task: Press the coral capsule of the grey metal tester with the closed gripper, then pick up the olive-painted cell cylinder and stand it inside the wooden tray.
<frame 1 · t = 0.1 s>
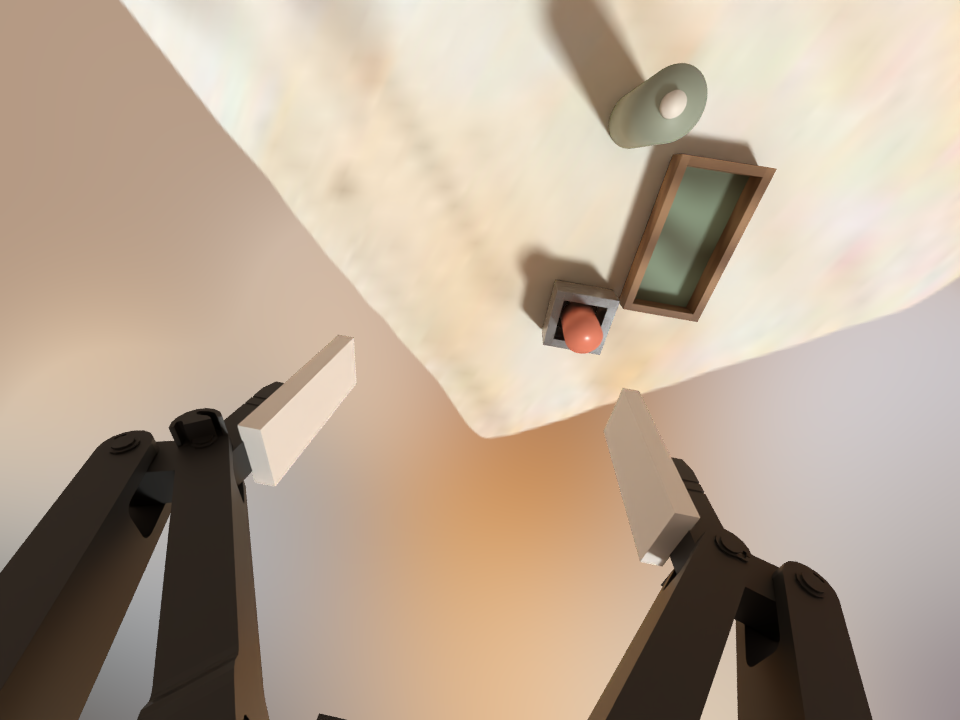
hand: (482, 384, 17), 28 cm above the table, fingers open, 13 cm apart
cell: (633, 120, 33), on the table
wooden tray: (681, 242, 37), on the table
coral capsule: (580, 325, 39), point 5 cm above the table, slide at 0.0 cm
tester: (575, 311, 43), on the table
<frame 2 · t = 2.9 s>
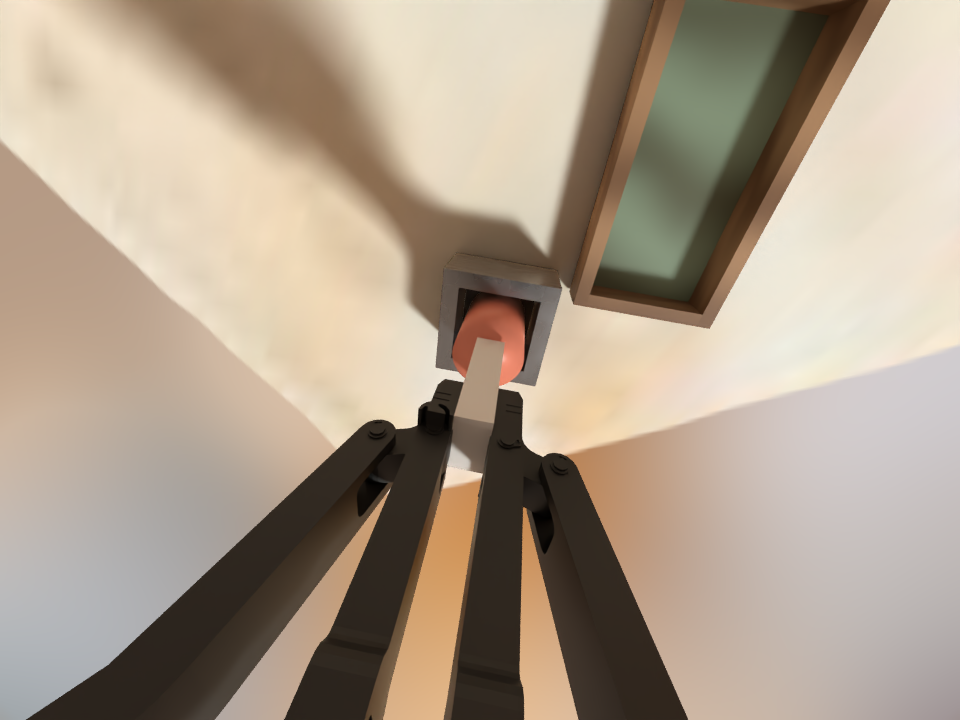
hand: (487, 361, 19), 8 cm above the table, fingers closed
wooden tray: (680, 175, 19), on the table
coral capsule: (492, 333, 21), point 4 cm above the table, slide at -0.3 cm, touching gripper
tester: (498, 308, 25), on the table
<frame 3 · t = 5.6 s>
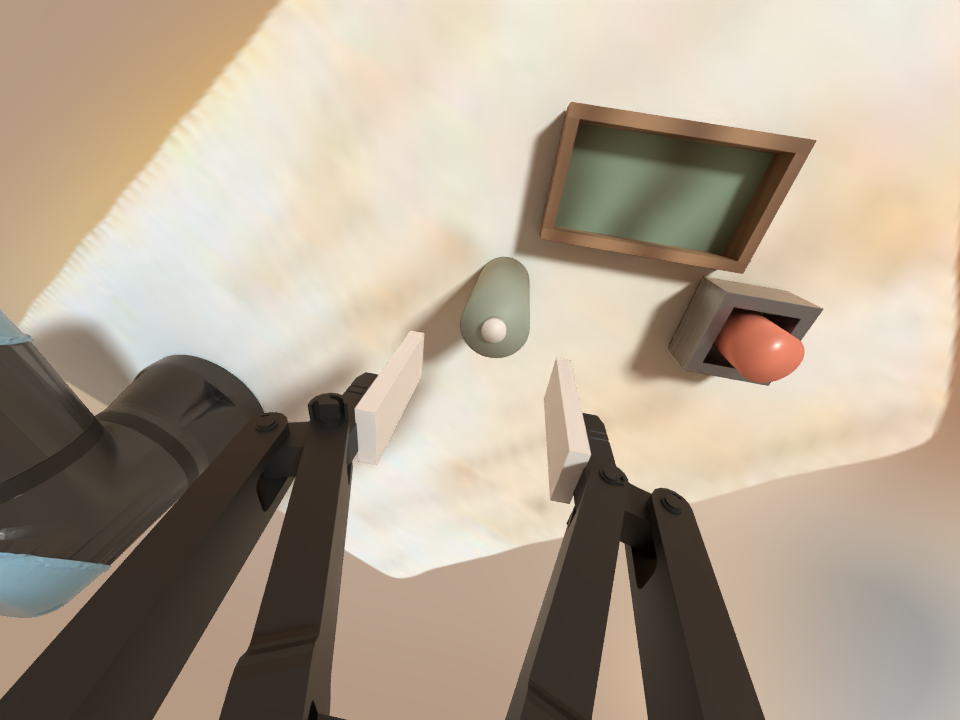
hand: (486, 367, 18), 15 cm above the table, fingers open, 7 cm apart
cell: (504, 282, 31), on the table
wooden tray: (652, 192, 26), on the table
coral capsule: (748, 340, 27), point 4 cm above the table, slide at -0.7 cm
tester: (724, 321, 30), on the table
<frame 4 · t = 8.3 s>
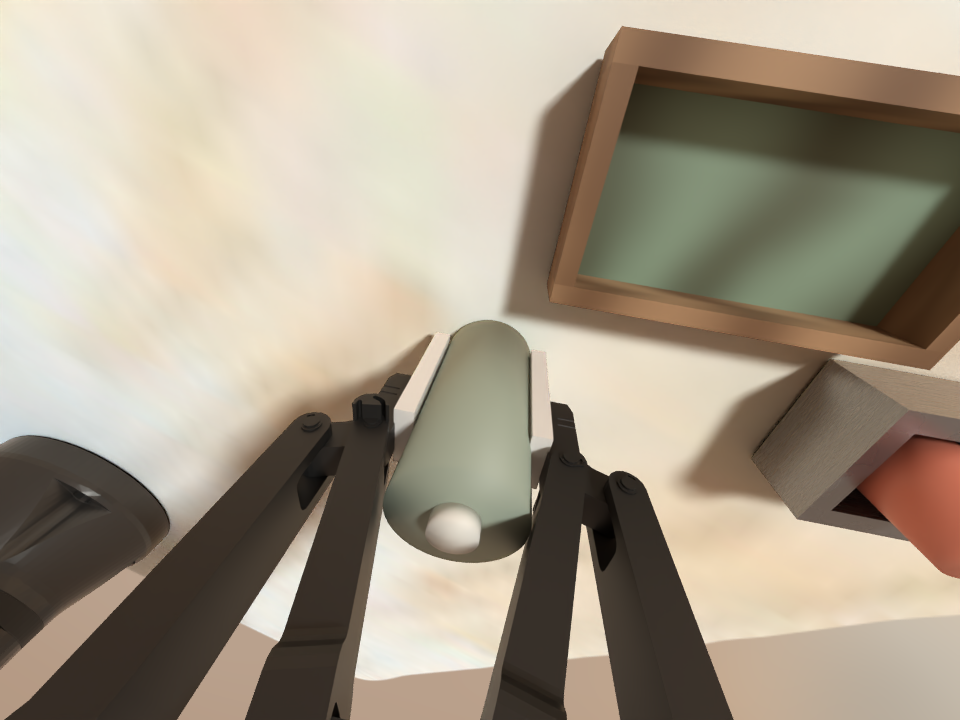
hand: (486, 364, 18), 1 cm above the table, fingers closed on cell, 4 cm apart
cell: (488, 357, 19), on the table, touching gripper
wooden tray: (759, 216, 14), on the table
coral capsule: (923, 483, 15), point 4 cm above the table, slide at -0.7 cm
tester: (852, 425, 18), on the table
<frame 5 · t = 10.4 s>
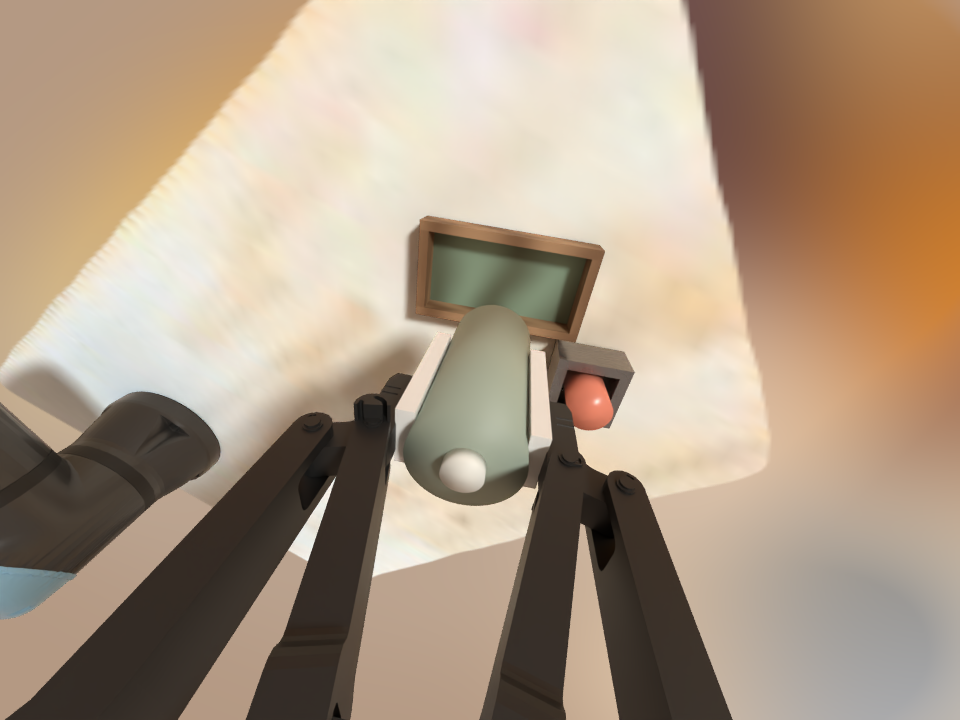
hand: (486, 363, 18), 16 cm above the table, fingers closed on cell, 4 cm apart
cell: (492, 340, 21), point 13 cm above the table, touching gripper
wooden tray: (504, 277, 32), on the table
coral capsule: (585, 394, 33), point 4 cm above the table, slide at -0.7 cm
tester: (580, 373, 37), on the table
when the fingers open (2 cm above the table, at t = 12.7 s): cell stays where it is, resting on wooden tray.
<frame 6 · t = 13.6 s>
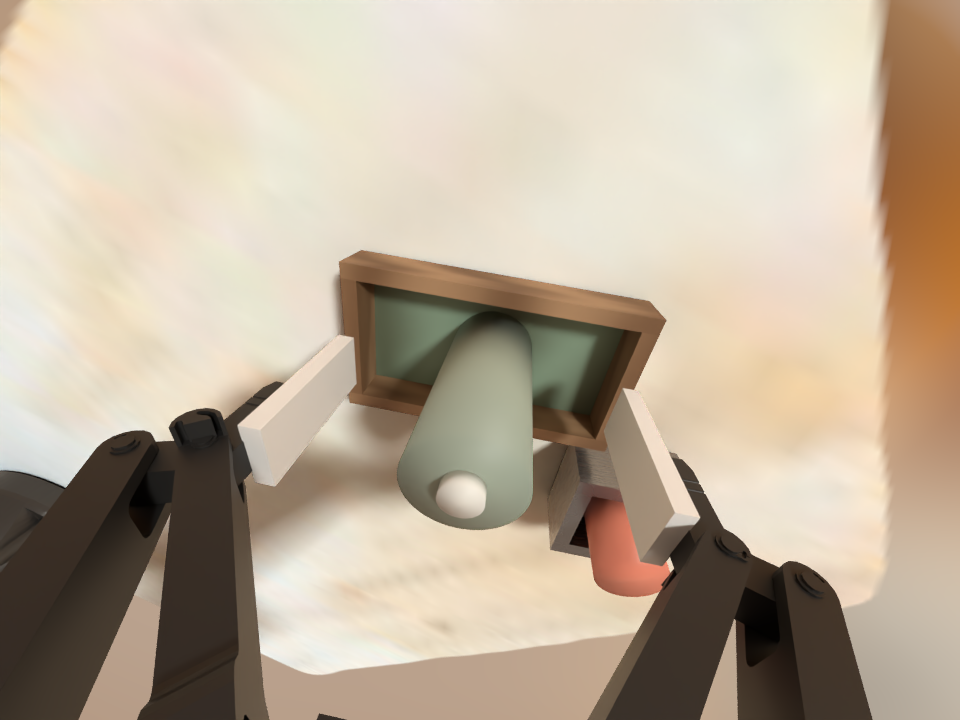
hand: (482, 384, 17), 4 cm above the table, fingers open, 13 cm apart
cell: (492, 347, 20), resting on wooden tray
wooden tray: (490, 345, 20), on the table
coral capsule: (619, 527, 21), point 4 cm above the table, slide at -0.7 cm
tester: (606, 478, 24), on the table
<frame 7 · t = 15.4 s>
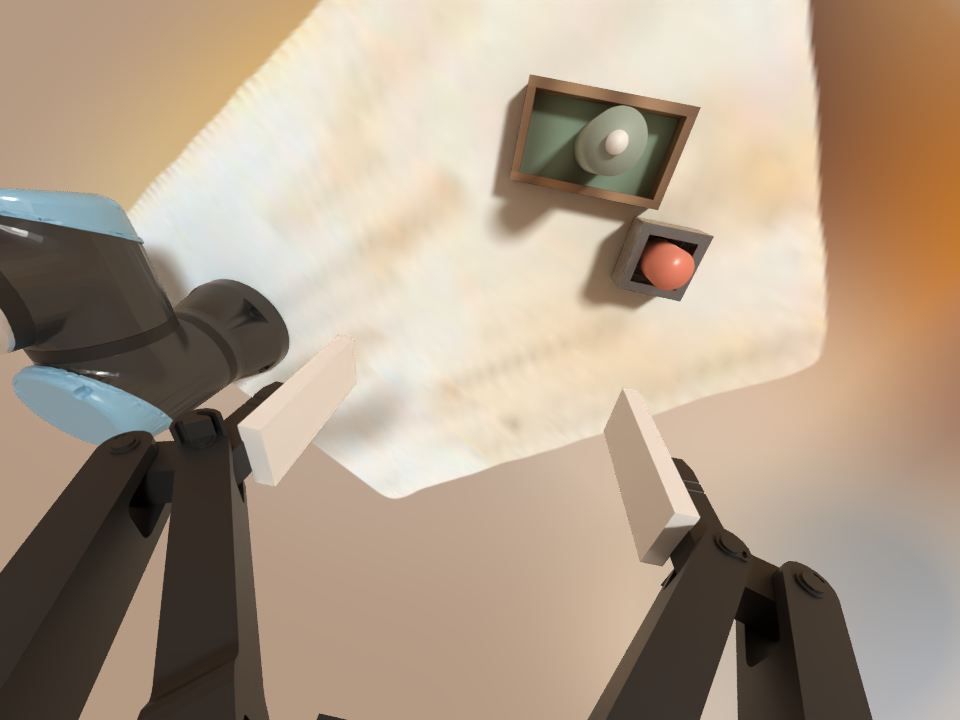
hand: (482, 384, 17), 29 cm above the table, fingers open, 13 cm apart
cell: (596, 147, 35), resting on wooden tray
wooden tray: (594, 147, 35), on the table
coral capsule: (662, 263, 36), point 4 cm above the table, slide at -0.7 cm
tester: (652, 254, 39), on the table
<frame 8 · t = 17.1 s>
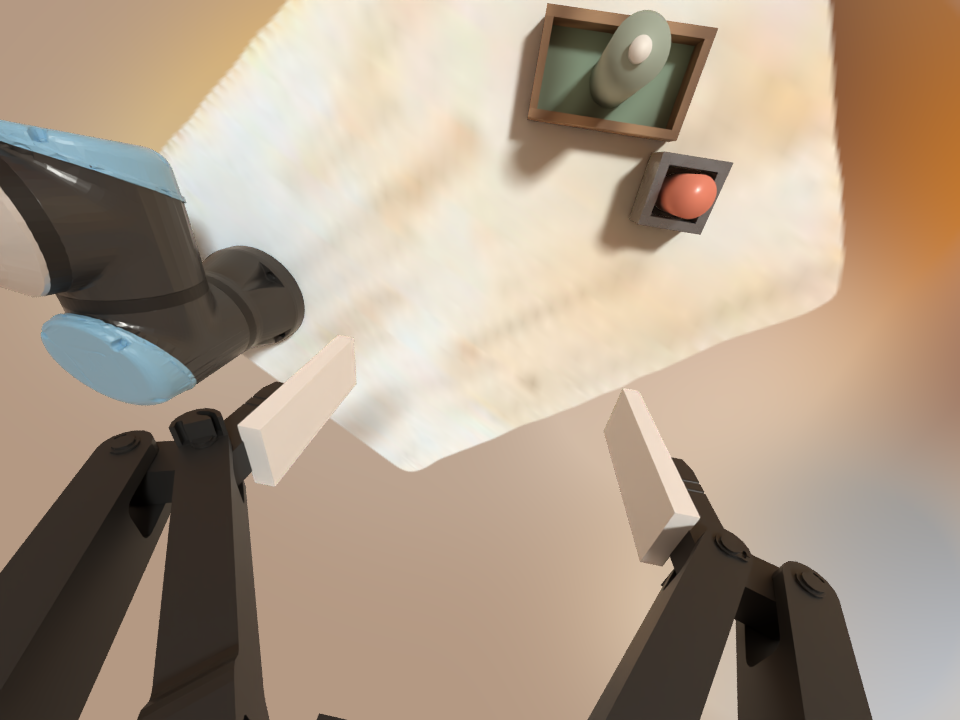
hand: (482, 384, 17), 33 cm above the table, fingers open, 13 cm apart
cell: (612, 80, 35), resting on wooden tray
wooden tray: (610, 81, 35), on the table
coral capsule: (682, 194, 36), point 4 cm above the table, slide at -0.7 cm
tester: (669, 192, 39), on the table
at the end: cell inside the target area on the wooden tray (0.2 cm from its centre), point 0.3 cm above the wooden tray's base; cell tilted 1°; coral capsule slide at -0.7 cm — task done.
